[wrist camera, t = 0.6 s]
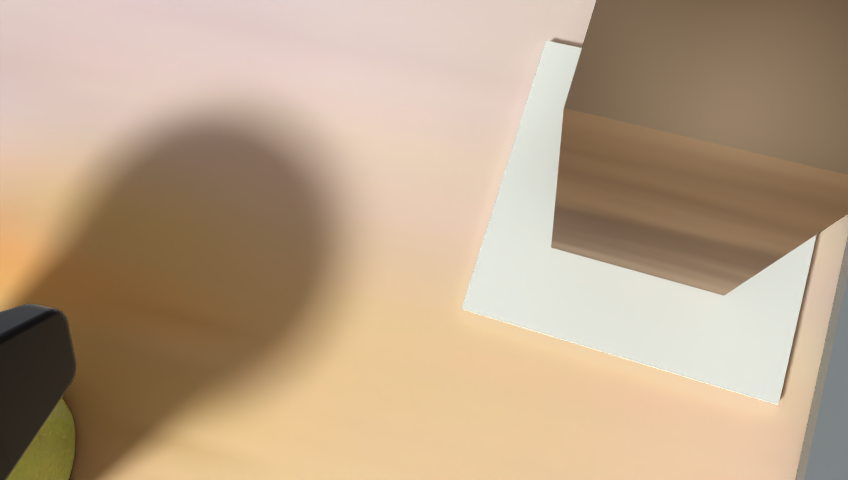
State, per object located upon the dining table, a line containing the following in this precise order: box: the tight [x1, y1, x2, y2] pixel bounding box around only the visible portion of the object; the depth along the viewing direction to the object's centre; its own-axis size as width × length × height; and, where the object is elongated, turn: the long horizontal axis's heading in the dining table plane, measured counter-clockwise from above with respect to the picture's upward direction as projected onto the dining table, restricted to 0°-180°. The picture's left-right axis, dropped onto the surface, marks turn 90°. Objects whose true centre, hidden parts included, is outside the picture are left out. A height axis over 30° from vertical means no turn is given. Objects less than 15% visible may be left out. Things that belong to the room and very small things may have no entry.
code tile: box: [462, 40, 816, 405], centre depth 22 cm, size 9×9×1 cm
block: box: [551, 0, 848, 295], centre depth 17 cm, size 4×5×10 cm
